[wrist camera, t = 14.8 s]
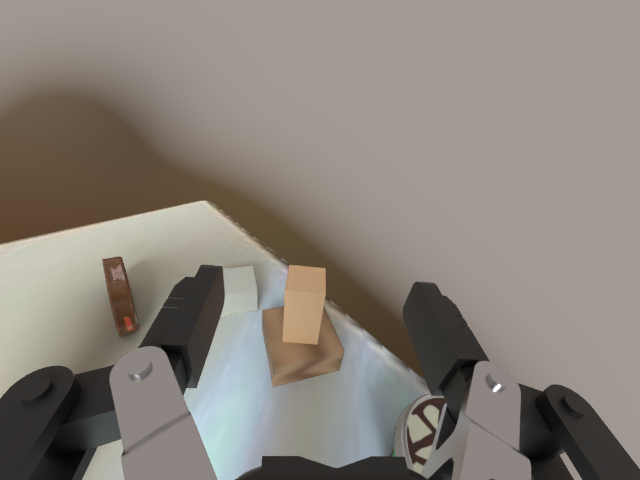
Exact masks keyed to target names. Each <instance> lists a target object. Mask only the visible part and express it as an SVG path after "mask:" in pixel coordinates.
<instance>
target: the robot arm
mask: <svg viewBox="0 0 640 480" xmlns="http://www.w3.org/2000/svg"><path fill="white" fill-rule="evenodd" d="M224 300H225V289H224V276H223V268H222V266H213V265H201V266H200V268H199V270H198V272H197V274H196V276H195V277H185V278H184V279H182V280H181V281H180V282H179V283H178V284H176V285H175V286H174V288H173V290H172V291H171V293H170V295H169V297H168V299H167V300H166V302H165V303H164V305H163V308H162V309H161V310H160V312H159V314H158V316H157V317H156V319H155V321H154V322H153V324H152V326H151V328H150V329H149V331H148V333H147V334H146V336H145V338H144V340H143V341H142V343H141V345H140V346H139V347H138V349H135V350H133V351H131V352H129V353H127V354H126V355H124V356H123V357H122V358H121V359H120V360H119V361H118V362H117V363H116V364H114V365H112V366H109V367H105V368H101V369H97V370H93V371H89V372H84V373H80V374H76V375H74V374H73V373H72V371H71V370H70V369H68V368H67V367H63V366H50V367H45V368H42V369H39V370H37V371H34V372H32V373H30V374H28V375H26V376H25V377H23V378H22V379H20V380H19V381H17V382H16V383H15V384H14V385H13V386H11V387H10V388H9V389H8V390H7V391H6V393H5V394H4V395H3V396H2V397H1V399H0V480H82V478H83V476H84V474H85V472H86V470H87V468H88V466H89V464H90V462H91V459H92V457H93V455H94V453H95V451H96V449H97V447H98V446H101V445H104V444H107V443H110V442H113V441H116V440H119V439H122V443H123V453H122V467H123V473H124V478H125V480H217V477H216V475H215V472H214V470H213V467H212V465H211V462H210V460H209V457H208V455H207V452H206V450H205V447H204V445H203V442H202V440H201V437H200V434H199V432H198V429H197V427H196V424H195V422H194V420H193V417H192V415H191V413H190V412H189V410H188V408H187V405H186V403H185V400H184V398H183V395H184V393H185V390H186V388H197V385H198V382H199V379H200V376H201V373H202V370H203V367H204V364H205V361H206V358H207V355H208V352H209V349H210V346H211V343H212V340H213V337H214V334H215V331H216V328H217V325H218V322H219V319H220V316H221V313H222V310H223V306H224ZM403 319H404V322H405V325H406V328H407V330H408V333H409V336H410V338H411V341H412V344H413V347H414V349H415V352H416V355H417V357H418V360H419V363H420V366H421V368H422V371H423V374H424V376H425V379H426V382H427V384H428V387H429V390H430V393H431V395H432V396H444V399H445V401H446V404H445V405H444V407H443V409H442V413H441V417H440V420H439V424H438V427H437V431H436V434H435V438H434V441H433V445H432V448H431V452H430V454H429V457H428V459H427V461H426V463H425V465H424V467H423V469H422V471H421V474H419V473H417V472H415V471H413V470H411V469H409V468H408V467H407V463H406V459H405V457H369V458H366V459H363V460H360V461H357V462H355V463H352V464H349V465H346V466H343V467H340V468H333V467H330V466H327V465H324V464H321V463H318V462H315V461H312V460H309V459H306V458H303V457H300V456H263V457H262V466H261V467H258V468H255V469H252V470H250V471H248V472H246V473H244V474H243V475H241V476H240V477H238V478H237V479H235V480H574V479H573V478H572V476H571V474H570V473H569V471H568V469H567V468H566V466H565V464H564V462H563V461H562V459H561V457H560V456H559V455H560V454H562V453H564V452H566V454H567V455H568V457H569V459H570V460H571V462H572V463H573V465H574V467H575V468H576V470H577V471H578V473H579V475H580V477H581V478H582V480H640V469H639V468H638V466H637V465H636V464H635V463H634V461H633V460H632V459H631V457H630V456H629V455H628V453H627V452H626V451H625V450H624V448H623V447H622V446H621V444H620V443H619V442H618V440H617V439H616V438H615V436H614V435H613V434H612V433H611V431H610V430H609V429H608V427H607V426H606V425H605V424H604V422H603V421H602V420H601V418H600V417H599V416H598V414H597V413H596V412H595V411H594V409H593V408H592V407H591V406H590V404H589V403H587V401H586V400H585V399H583V398H582V397H581V396H580V395H578V394H577V393H575V392H574V391H572V390H571V389H569V388H566V387H564V386H561V385H550V386H549V387H548V388H546V389H545V390H544V391H543V392H542V391H539V390H536V389H533V388H531V387H527V386H525V385H522V384H519V383H517V382H516V380H515V379H514V377H513V376H511V374H510V373H509V372H508V371H507V370H505V369H504V368H502V367H501V366H499V365H497V364H495V363H493V362H490V361H489V359H488V358H487V356H486V354H485V353H484V351H483V349H482V348H481V346H480V345H479V343H478V341H477V339H476V338H475V336H474V335H473V333H472V331H471V330H470V328H469V327H468V325H467V323H466V321H465V320H464V318H462V315H461V313H460V311H459V310H458V308H457V306H456V305H455V304H454V303H453V302H452V301H451V300H449V298H447V297H446V296H442V294H441V292H440V291H439V289H438V287H437V286H436V285H435V284H434V283H427V282H415V283H414V284H413V286H412V288H411V291H410V293H409V295H408V298H407V300H406V302H405V305H404V307H403Z"/></svg>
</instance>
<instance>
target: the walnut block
mask: <svg viewBox="0 0 640 480" xmlns="http://www.w3.org/2000/svg"><path fill="white" fill-rule="evenodd" d="M283 321H284V307H279V308H273V309H267V310H262V330H263V335H264V341H265V346H266V351H267V357H268V362H269V368H270V373H271V379H272V384H273V387H275V386H279V385H283V384H287V383H291V382H295V381H299V380H303V379H307V378H311V377H315V376H318V375H322V374H326V373H330V372H334V371H338V370H339V369H340V365H341V361H342V358H343V354H344V350H343V347H342V345H341V343H340V341H339V338H338V336H337V334H336V332H335V329H334V327H333V325H332V323H331V320H330V318H329V316H328V314H327V311H326V309H325V307H323V313H322V320H321V326H320V332H319V338H318V344H317V345H316V344H303V343H290V342H282V341H283Z"/></svg>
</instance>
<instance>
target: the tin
mask: <svg viewBox="0 0 640 480" xmlns="http://www.w3.org/2000/svg"><path fill="white" fill-rule="evenodd" d="M102 261H103V267H104V273H105V278H106V284H107V290H108V295H109V299H110V304H111V308H112V312H113V316H114V320H115V323H116V327H117V330H118V333H119V336H120V337H121V336H123V335H126V334H129V333H132V332H134V331H137V330H138V329H139V325H138V321H137V316H136V312H135V307H134V303H133V298H132V294H131V290H130V286H129V282H128V278H127V274H126V270H125V267H124V263H123V260H122V257H114V258H108V259H102Z"/></svg>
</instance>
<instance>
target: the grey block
mask: <svg viewBox="0 0 640 480" xmlns="http://www.w3.org/2000/svg"><path fill="white" fill-rule="evenodd" d="M223 276H224V289H225V300H224V306H223V310H222V313H221V316H226V315H233V314H239V313H246V312H252V311H258V297H257V286H256V280H255V275H254V269H253V266H244V267H234V268H225V269H223Z"/></svg>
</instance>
